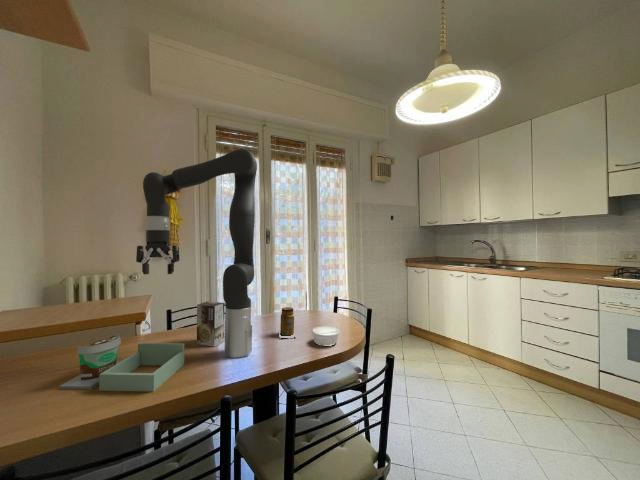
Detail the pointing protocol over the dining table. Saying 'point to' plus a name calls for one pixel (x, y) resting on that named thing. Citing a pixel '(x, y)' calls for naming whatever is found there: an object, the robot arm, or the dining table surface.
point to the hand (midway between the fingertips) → (158, 274)
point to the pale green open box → (146, 355)
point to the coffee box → (210, 323)
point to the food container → (98, 357)
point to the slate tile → (81, 383)
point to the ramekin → (325, 335)
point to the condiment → (287, 322)
